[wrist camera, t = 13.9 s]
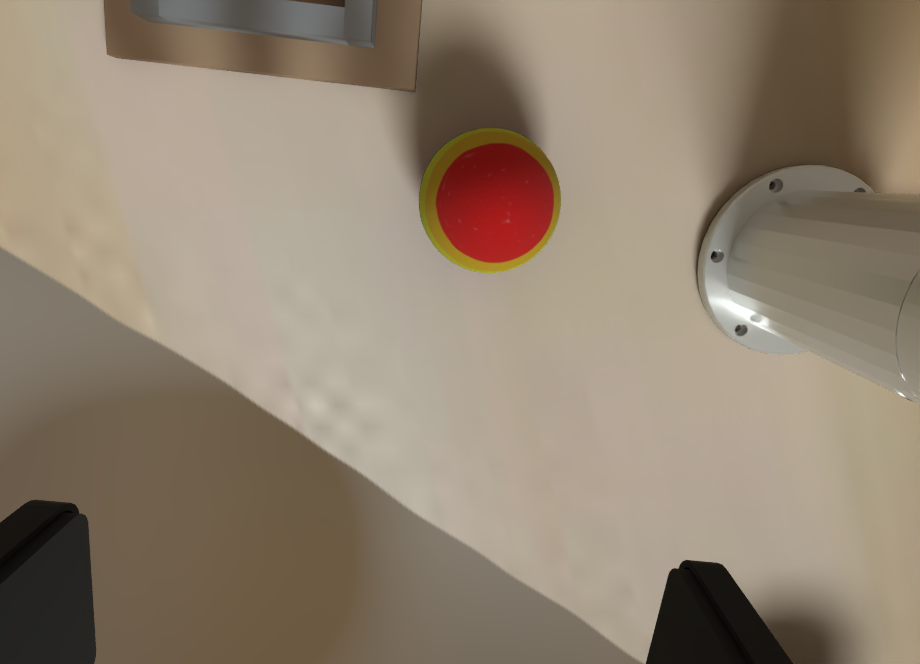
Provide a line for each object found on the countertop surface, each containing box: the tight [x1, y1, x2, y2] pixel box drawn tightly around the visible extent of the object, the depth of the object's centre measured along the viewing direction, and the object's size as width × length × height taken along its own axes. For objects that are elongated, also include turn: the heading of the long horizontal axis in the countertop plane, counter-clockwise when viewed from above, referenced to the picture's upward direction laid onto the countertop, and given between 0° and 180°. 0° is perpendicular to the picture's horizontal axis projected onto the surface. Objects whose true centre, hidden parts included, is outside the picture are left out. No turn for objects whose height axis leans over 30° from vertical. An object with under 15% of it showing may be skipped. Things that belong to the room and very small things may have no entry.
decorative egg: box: [419, 128, 561, 273], centre depth 32 cm, size 8×8×10 cm
